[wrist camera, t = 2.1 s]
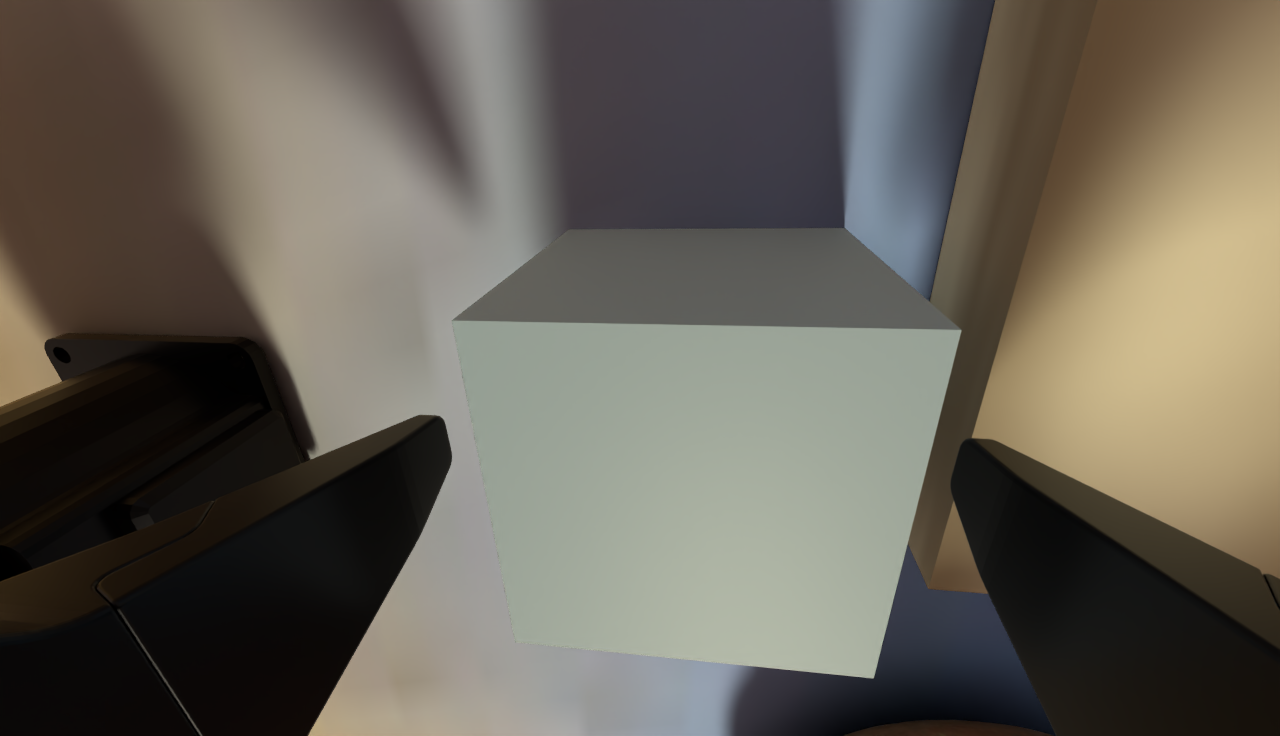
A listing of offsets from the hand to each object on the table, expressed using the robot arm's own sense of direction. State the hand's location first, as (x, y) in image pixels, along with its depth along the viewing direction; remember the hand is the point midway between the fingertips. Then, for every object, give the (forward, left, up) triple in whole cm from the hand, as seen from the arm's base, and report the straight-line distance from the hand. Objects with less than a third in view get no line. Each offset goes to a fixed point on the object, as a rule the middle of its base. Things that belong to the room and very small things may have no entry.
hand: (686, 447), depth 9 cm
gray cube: (0, 0, -4) cm, 4 cm away
